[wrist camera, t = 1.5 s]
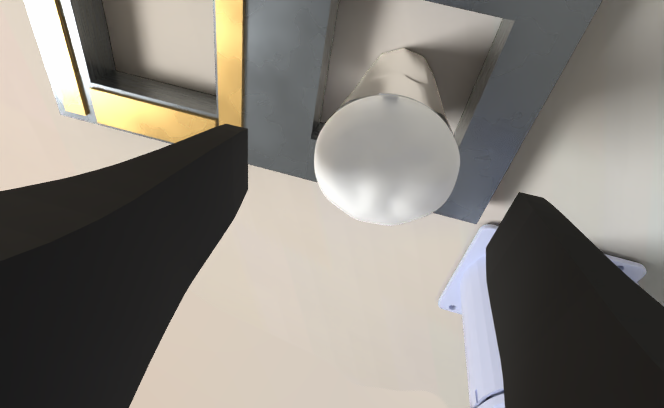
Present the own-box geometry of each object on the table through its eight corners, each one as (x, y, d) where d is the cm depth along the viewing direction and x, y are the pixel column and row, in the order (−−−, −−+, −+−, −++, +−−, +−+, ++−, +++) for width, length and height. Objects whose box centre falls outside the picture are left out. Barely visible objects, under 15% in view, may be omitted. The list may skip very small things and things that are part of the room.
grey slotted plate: (604, -48, 14) (629, -44, 12) (473, 202, 21) (476, 226, 19) (12, -175, 15) (-42, -188, 13) (86, 101, 22) (57, 116, 21)
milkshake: (462, 15, 16) (495, 103, 8) (437, 130, 19) (444, 273, 11) (356, 9, 16) (291, 85, 9) (351, 121, 20) (300, 249, 12)
